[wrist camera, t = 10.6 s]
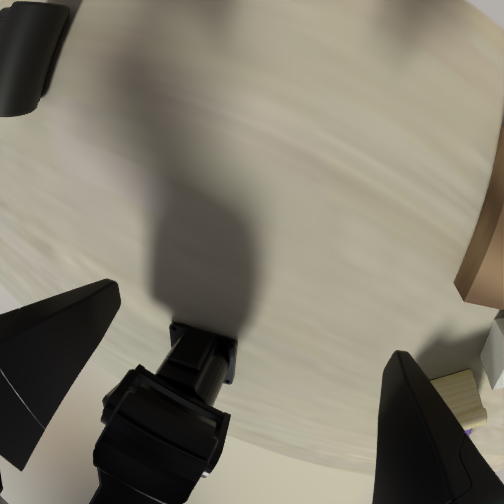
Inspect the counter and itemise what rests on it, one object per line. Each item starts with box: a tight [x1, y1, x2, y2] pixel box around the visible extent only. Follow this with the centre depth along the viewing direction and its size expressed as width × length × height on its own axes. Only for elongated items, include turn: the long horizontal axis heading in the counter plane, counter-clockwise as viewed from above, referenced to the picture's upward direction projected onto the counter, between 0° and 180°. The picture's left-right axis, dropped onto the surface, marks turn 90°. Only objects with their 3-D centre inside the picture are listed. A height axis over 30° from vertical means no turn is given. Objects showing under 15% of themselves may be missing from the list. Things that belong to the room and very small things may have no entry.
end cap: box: [0, 1, 70, 117], centre depth 14 cm, size 10×7×7 cm
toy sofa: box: [430, 369, 487, 436], centre depth 21 cm, size 21×9×10 cm, turn 22°
